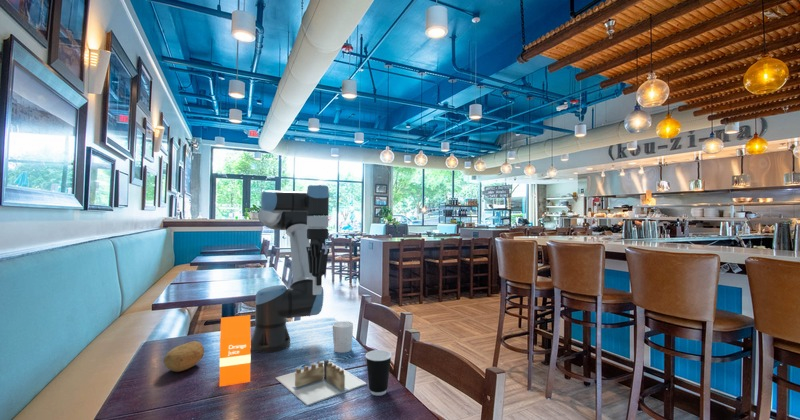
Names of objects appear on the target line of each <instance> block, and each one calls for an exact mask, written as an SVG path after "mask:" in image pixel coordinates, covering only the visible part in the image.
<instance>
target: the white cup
mask: <svg viewBox="0 0 800 420" xmlns="http://www.w3.org/2000/svg"><path fill="white" fill-rule="evenodd" d="M353 331H354V323H353V322H351V321H347V320H345V321H344V320H343V321H336V322H334V323H333V324H332V339H333V351H334V352H335V353H338V354H339V353H340V354H341V353H343V354H344V353H348V352H350V351H352V346H353V345H352V343H353V333H354V332H353Z"/></svg>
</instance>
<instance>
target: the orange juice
mask: <svg viewBox="0 0 800 420" xmlns="http://www.w3.org/2000/svg"><path fill="white" fill-rule="evenodd" d="M251 339H252V336H251V314H248V315H235V316H226V317H225V316H224V317H221V318H220V338H219V388H220V387H227V386H231V385H239V384H243V383H244V384H245V383H250V382H251V356H252V354H251V349H250V348H251Z"/></svg>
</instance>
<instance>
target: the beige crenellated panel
mask: <svg viewBox="0 0 800 420" xmlns="http://www.w3.org/2000/svg"><path fill="white" fill-rule="evenodd" d="M317 364H318V366H317ZM317 364H315V363H311V364H310V365H311V366H310V367H311V368H310V367H309V366H308V365H304V366H303V369H304V370H303V369H301V368H300V367H297V368H296V369H295V372H296V373H295V386H296V387H300V386H303V385H306V384H309V383H313V382H316V381H319V380H322V379H324V366H323V364H324V362H322V361H318V363H317ZM316 366H317V367H316ZM308 368H310V369H308ZM301 370H303V371H301Z"/></svg>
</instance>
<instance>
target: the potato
mask: <svg viewBox="0 0 800 420" xmlns="http://www.w3.org/2000/svg"><path fill="white" fill-rule="evenodd" d="M204 349H205V348H204V346H203V344H202V343H201V342H200V341H196V340H193V341H188V342H186V343H184V344H180V345H177V346H175V347H174V348H172V349H171V350H169V351H168V352H167V353H166V355H165V356H164V358H163V359H164V360H163V363H164V367H166V369H168V370H170V371H172V372H174V373H175V372H177V373H179V372H180V373H181V372H184V371H186V370H188V369H190V368H192V367H194V366H195V365H197V364H198V363H199V362H200V361H201V360H202V359H203V356H204V354H205V350H204Z"/></svg>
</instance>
